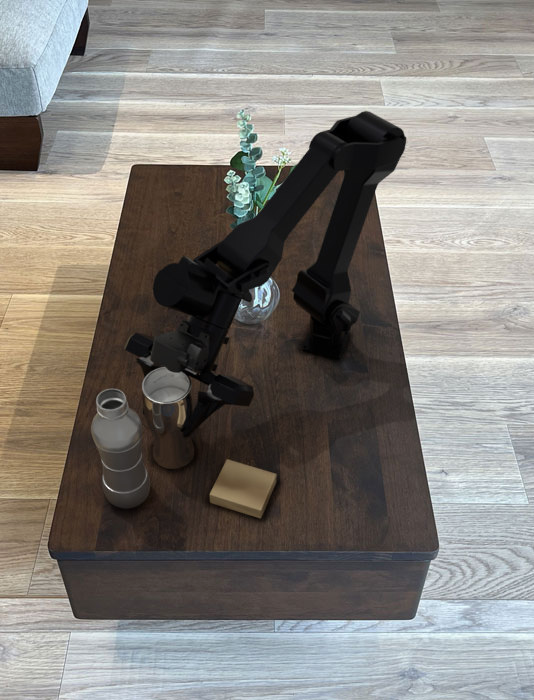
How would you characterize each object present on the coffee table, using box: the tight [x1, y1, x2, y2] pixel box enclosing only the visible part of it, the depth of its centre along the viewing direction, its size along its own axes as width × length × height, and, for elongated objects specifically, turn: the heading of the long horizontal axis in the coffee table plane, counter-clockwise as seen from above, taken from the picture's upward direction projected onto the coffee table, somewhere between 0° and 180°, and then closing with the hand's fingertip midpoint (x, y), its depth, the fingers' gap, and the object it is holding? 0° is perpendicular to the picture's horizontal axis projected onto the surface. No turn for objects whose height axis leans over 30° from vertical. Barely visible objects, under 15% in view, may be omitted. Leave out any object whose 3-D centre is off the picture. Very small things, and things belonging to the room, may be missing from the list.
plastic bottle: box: [90, 388, 152, 510], centre depth 104 cm, size 6×7×20 cm
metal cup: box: [141, 367, 195, 470], centre depth 111 cm, size 7×7×15 cm
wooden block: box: [209, 459, 278, 519], centre depth 111 cm, size 6×8×2 cm
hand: (164, 425), depth 110 cm, fingers closed on metal cup, 7 cm apart
